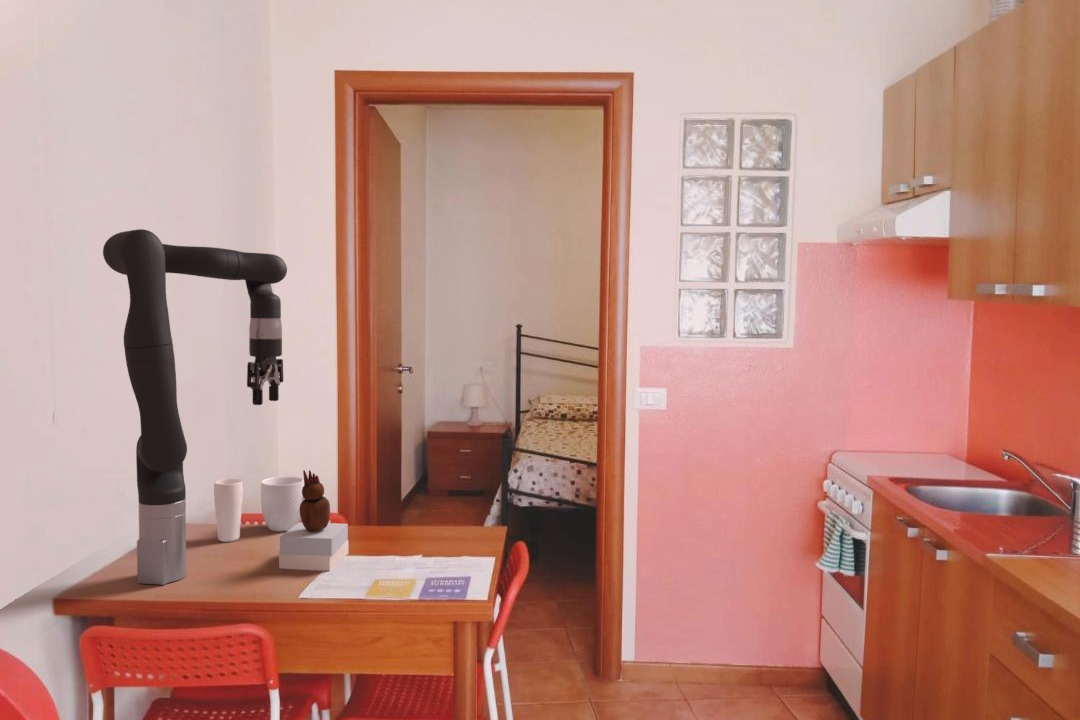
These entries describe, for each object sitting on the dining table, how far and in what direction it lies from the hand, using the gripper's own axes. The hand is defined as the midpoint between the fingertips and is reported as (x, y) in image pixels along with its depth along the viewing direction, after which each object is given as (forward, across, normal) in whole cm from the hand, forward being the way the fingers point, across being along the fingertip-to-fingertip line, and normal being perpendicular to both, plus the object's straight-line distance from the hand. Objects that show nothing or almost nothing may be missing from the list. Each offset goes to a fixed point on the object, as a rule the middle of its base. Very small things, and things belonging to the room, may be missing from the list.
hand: (265, 402), depth 188 cm
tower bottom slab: (+37, -8, -16) cm, 41 cm away
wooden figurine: (+28, -8, -16) cm, 34 cm away
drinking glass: (+36, +4, +12) cm, 38 cm away
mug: (+36, +16, +2) cm, 40 cm away
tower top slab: (+33, -8, -16) cm, 37 cm away
